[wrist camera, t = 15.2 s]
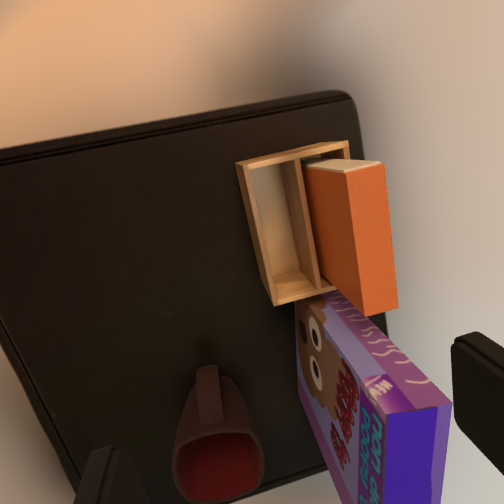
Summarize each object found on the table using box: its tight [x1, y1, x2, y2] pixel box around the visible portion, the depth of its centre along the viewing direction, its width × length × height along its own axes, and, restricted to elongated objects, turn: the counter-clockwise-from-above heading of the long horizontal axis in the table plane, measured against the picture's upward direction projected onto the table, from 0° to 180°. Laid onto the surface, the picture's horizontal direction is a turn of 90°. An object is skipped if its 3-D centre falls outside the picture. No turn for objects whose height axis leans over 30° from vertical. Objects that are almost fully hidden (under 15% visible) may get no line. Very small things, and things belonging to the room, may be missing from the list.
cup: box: [172, 365, 265, 504], centre depth 42 cm, size 10×14×12 cm
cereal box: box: [294, 289, 452, 504], centre depth 37 cm, size 17×5×24 cm, turn 4°
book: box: [300, 158, 398, 317], centre depth 34 cm, size 3×12×16 cm, turn 12°
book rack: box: [235, 140, 350, 306], centre depth 39 cm, size 11×15×8 cm
